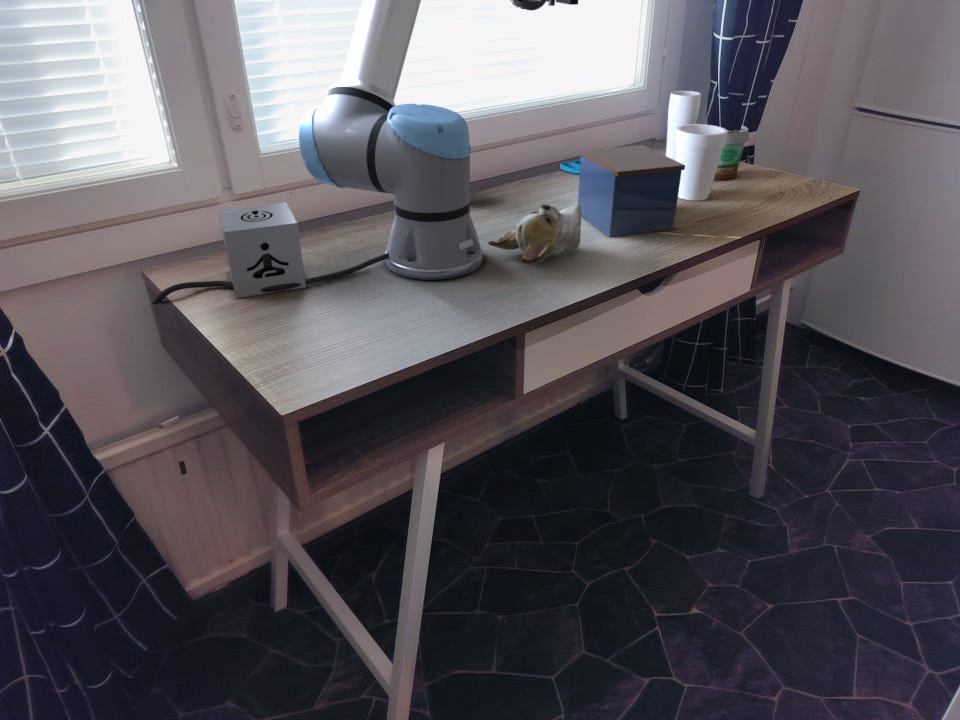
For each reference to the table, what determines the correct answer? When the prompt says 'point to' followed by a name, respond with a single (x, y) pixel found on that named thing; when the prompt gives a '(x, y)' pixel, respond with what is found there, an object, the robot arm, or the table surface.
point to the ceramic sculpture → (544, 233)
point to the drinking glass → (680, 116)
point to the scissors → (573, 164)
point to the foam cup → (698, 158)
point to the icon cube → (262, 248)
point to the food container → (731, 154)
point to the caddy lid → (632, 160)
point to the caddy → (627, 199)
